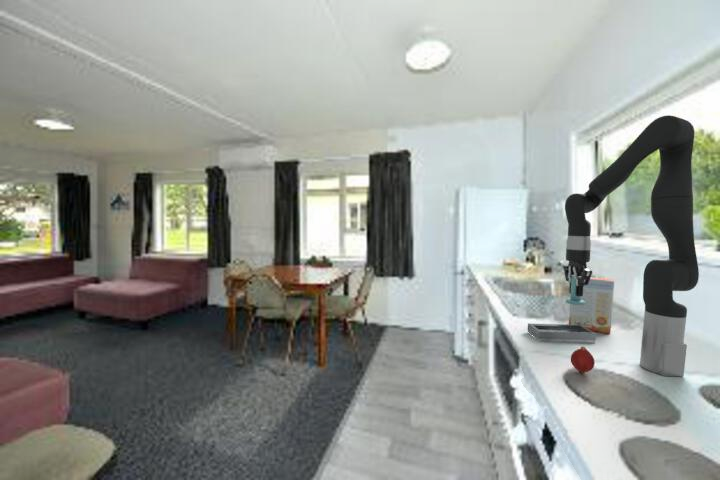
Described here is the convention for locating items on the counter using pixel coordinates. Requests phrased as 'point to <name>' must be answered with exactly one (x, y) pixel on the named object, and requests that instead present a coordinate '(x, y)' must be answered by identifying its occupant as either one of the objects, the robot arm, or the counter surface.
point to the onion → (582, 360)
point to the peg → (574, 299)
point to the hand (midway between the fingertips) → (575, 294)
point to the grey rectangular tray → (561, 333)
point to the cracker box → (594, 306)
